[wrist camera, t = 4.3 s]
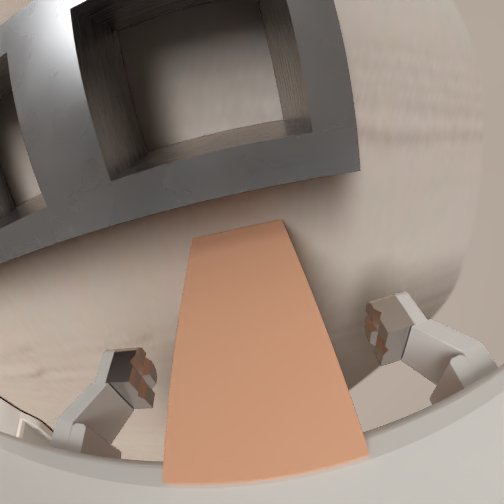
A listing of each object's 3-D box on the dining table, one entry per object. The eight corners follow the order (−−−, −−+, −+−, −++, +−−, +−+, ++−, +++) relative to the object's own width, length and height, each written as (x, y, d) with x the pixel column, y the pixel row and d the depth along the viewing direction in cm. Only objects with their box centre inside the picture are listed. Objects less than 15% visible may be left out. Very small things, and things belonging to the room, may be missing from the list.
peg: (292, 289, 15) (349, 486, 6) (215, 305, 15) (219, 506, 6) (281, 219, 12) (369, 454, 4) (192, 238, 13) (162, 481, 4)
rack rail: (318, 145, 11) (360, 170, 7) (-43, 261, 11) (-73, 295, 8) (281, -31, 7) (306, -77, 3) (-79, 163, 7) (-116, 185, 4)
